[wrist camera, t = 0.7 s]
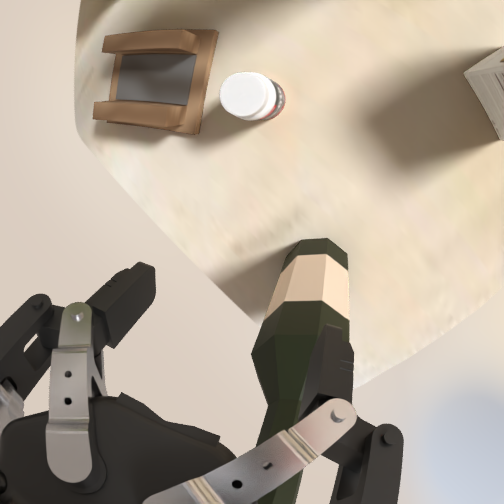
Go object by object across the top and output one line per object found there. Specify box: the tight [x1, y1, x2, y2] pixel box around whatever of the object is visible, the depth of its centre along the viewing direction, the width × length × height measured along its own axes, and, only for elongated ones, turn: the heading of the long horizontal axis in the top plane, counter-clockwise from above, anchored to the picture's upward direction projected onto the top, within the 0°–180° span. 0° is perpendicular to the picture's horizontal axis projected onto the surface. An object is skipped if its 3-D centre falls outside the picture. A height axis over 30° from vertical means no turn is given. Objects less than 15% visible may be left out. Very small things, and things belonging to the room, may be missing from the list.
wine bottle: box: [251, 238, 349, 504], centre depth 23 cm, size 8×8×30 cm
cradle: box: [93, 29, 219, 135], centre depth 27 cm, size 13×14×6 cm
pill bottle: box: [219, 72, 285, 121], centre depth 25 cm, size 5×5×8 cm
